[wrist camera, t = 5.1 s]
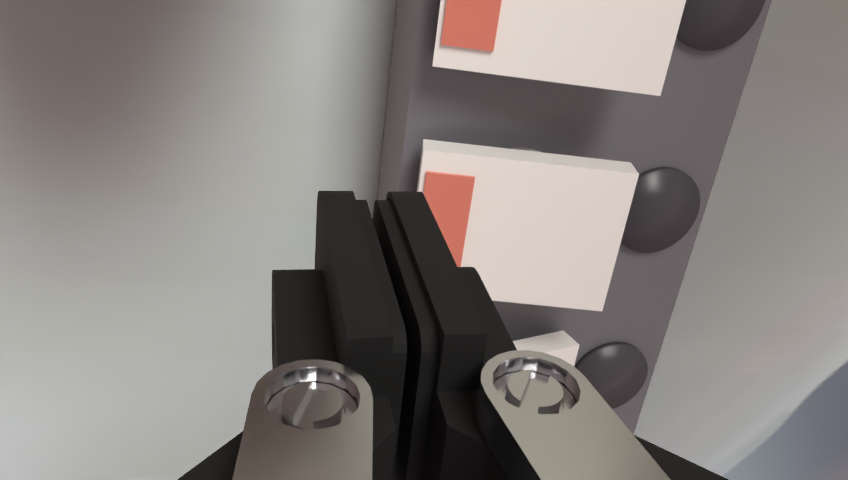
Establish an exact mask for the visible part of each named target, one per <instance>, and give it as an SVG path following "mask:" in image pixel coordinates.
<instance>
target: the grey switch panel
mask: <svg viewBox="0 0 848 480" xmlns="http://www.w3.org/2000/svg"><path fill="white" fill-rule="evenodd" d="M440 1H441V0H397V5H396V15H395V25H394V35H393V45H392V55H391V65H390V75H389V85H388V95H387V105H386V114H385V124H384V134H383V144H382V154H381V164H380V174H379V184H378V194H377V200H386V196H387V193H388V192H390V191H396V192H417V185H418V177H419V169H420V161H421V153H422V145H423V139H428V140H437V141H445V142H454V143H463V144H472V145H481V146H490V147H499V148H513V147H522V148H529V149H534V150H537V151H540V152H543V153H552V154H561V155H570V156H579V157H587V158H596V159H605V160H614V161H623V162H631V163H632V165H633V166H634V167H635V169H636V170H637V172H638V173H639V177H638V180H637V184H636V188H635V191H634V195H633V199H632V203H631V206H630V210H629V214H628V217H627V221H626V225H625V229H624V232H623V236H622V240H621V244H620V247H619V251H618V255H617V258H616V262H615V266H614V270H613V273H612V277H611V281H610V284H609V288H608V292H607V296H606V299H605V303H604V307H603V310H602V311H592V310H582V309H572V308H562V307H552V306H542V305H532V304H522V303H512V302H502V301H493V303H494V305H495V307H496V309H497V311H498V313H499V315H500V317H501V319H502V321H503V323H504V325H505V327H506V329H507V331H508V333H509V335H510V337H511V339H512V341H516V340H520V339H525V338H530V337H534V336H539V335H544V334H548V333H553V332H558V331H562V330H564V331H565V332H566V333H567V334H568V335H569V336H570V337H571V338H572V339H574V340H575V341H576V342H577V343H578V344H579V349H578V353H577V357H576V361H575V365H574V367H575V368H576V369H577V370H579V371H580V372H581V373H582V374H583V375H584V376H585V377H586V378H587V380H588V381H589V382H590V383H591V384H592V386H593V387H594V388H595V389H596V390H597V392H598V393H599V394H600V395H601V396H602V398H603V399H604V400H605V401H606V402H607V404H608V405H609V406H610V407H611V408H612V410H613V411H614V412H615V413H616V415H617V416H618V417H619V418H620V419H621V421H622V422H623V423H624V424H625V425H626V427H627V428H628V429H629V430H630V431H631V433H632V434H633V433H634V430H635V427H636V424H637V421H638V418H639V414H640V411H641V408H642V405H643V402H644V399H645V396H646V393H647V389H648V386H649V383H650V380H651V377H652V374H653V371H654V367H655V364H656V361H657V358H658V355H659V352H660V349H661V345H662V342H663V339H664V336H665V333H666V330H667V327H668V324H669V320H670V317H671V314H672V311H673V308H674V305H675V302H676V298H677V295H678V292H679V289H680V286H681V283H682V280H683V276H684V273H685V270H686V267H687V264H688V261H689V258H690V255H691V251H692V248H693V245H694V242H695V239H696V236H697V233H698V229H699V226H700V223H701V220H702V217H703V214H704V211H705V207H706V204H707V201H708V198H709V195H710V192H711V189H712V186H713V182H714V179H715V176H716V173H717V170H718V167H719V164H720V160H721V157H722V154H723V151H724V148H725V145H726V142H727V138H728V135H729V132H730V129H731V126H732V123H733V120H734V117H735V113H736V110H737V107H738V104H739V101H740V98H741V95H742V91H743V88H744V85H745V82H746V79H747V76H748V73H749V69H750V66H751V63H752V60H753V57H754V54H755V51H756V48H757V44H758V41H759V38H760V35H761V32H762V29H763V26H764V22H765V19H766V16H767V13H768V10H769V7H770V4H771V0H686V3H685V6H684V10H683V14H682V18H681V21H680V25H679V29H678V32H677V36H676V40H675V44H674V47H673V51H672V55H671V58H670V62H669V66H668V70H667V73H666V77H665V81H664V84H663V88H662V92H661V96H655V95H648V94H640V93H632V92H625V91H617V90H609V89H602V88H594V87H587V86H579V85H571V84H564V83H556V82H548V81H541V80H533V79H525V78H518V77H510V76H503V75H495V74H487V73H480V72H472V71H464V70H457V69H449V68H441V67H434V66H432V65H433V57H434V49H435V41H436V33H437V25H438V17H439V9H440Z"/></svg>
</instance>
